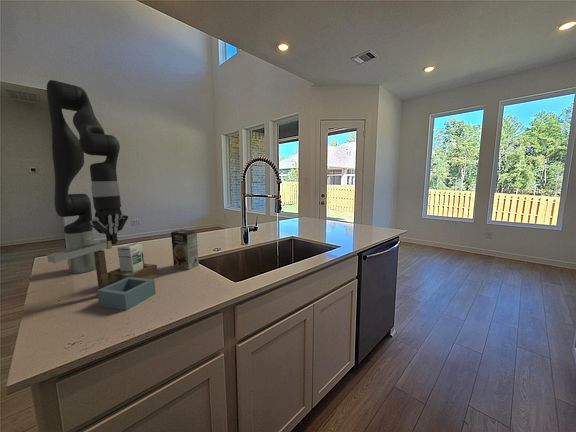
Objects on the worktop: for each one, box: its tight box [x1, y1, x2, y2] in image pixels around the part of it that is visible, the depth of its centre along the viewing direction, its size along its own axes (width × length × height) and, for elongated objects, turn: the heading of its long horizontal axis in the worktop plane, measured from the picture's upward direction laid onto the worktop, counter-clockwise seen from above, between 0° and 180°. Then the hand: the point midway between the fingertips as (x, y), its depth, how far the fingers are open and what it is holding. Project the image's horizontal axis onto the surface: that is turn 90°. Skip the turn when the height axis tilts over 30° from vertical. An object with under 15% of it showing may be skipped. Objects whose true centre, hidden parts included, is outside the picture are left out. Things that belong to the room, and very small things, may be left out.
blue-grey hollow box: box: [96, 277, 157, 311], centre depth 79 cm, size 11×11×5 cm
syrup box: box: [117, 242, 145, 273], centre depth 93 cm, size 6×6×14 cm
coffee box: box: [170, 229, 199, 270], centre depth 108 cm, size 9×6×16 cm
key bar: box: [46, 239, 113, 264], centre depth 75 cm, size 4×16×3 cm, turn 164°
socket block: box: [94, 249, 159, 290], centre depth 89 cm, size 12×18×15 cm, turn 164°
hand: (112, 244), depth 85 cm, fingers closed
